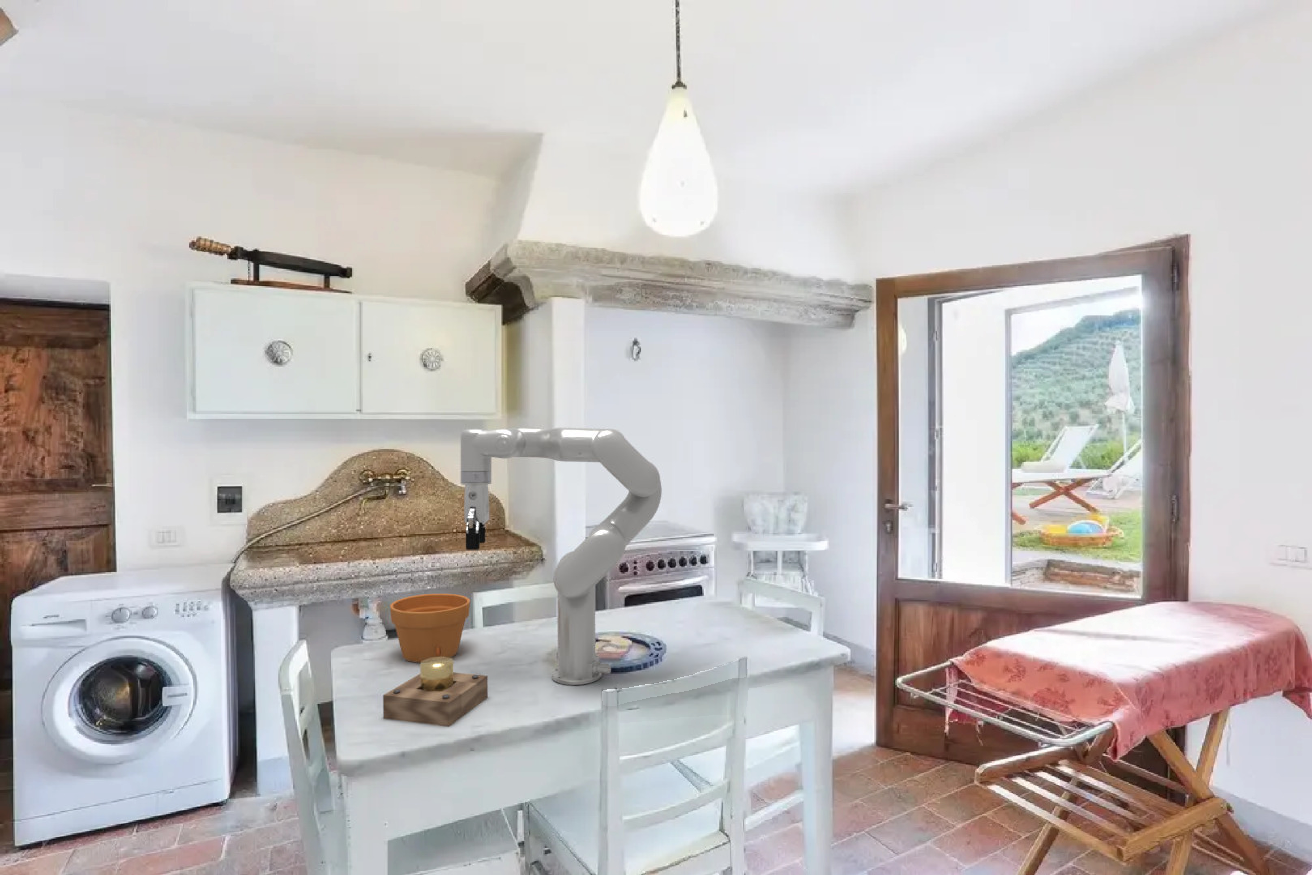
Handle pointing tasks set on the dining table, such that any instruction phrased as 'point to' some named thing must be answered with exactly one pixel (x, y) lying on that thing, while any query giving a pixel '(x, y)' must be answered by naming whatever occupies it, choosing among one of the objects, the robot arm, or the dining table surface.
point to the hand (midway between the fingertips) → (475, 546)
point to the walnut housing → (435, 700)
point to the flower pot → (429, 624)
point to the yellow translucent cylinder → (436, 673)
